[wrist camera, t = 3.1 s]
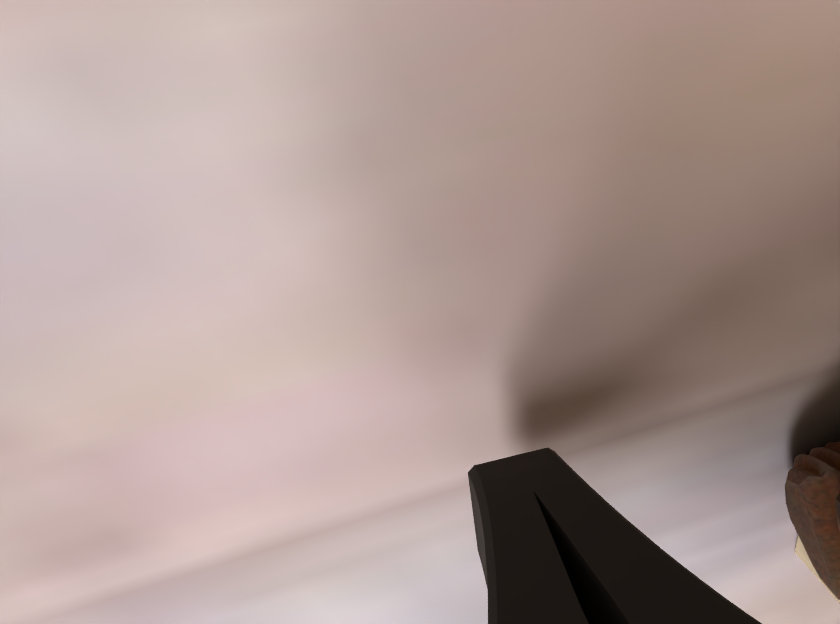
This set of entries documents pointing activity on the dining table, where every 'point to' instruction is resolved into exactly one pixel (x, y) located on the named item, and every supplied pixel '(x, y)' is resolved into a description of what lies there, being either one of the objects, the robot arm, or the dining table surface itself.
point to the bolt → (818, 509)
